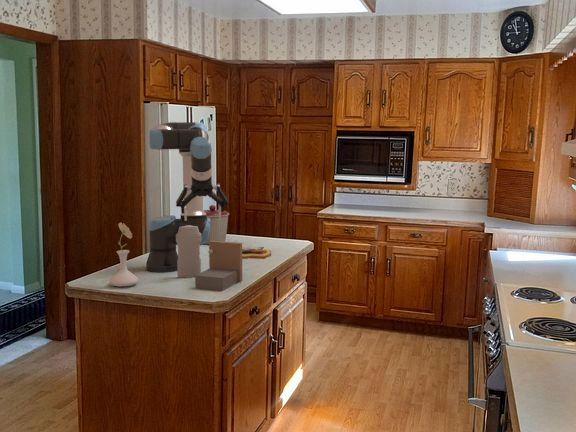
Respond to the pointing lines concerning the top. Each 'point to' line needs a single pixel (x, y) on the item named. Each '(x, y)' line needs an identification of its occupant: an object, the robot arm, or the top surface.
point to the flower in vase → (123, 263)
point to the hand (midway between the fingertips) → (202, 217)
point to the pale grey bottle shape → (188, 251)
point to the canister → (217, 224)
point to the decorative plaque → (254, 252)
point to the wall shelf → (222, 266)
